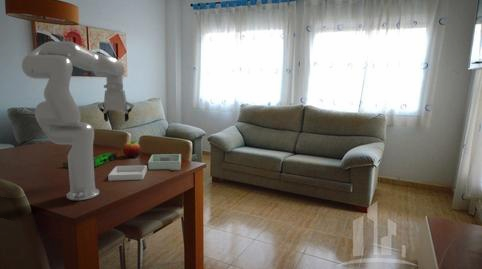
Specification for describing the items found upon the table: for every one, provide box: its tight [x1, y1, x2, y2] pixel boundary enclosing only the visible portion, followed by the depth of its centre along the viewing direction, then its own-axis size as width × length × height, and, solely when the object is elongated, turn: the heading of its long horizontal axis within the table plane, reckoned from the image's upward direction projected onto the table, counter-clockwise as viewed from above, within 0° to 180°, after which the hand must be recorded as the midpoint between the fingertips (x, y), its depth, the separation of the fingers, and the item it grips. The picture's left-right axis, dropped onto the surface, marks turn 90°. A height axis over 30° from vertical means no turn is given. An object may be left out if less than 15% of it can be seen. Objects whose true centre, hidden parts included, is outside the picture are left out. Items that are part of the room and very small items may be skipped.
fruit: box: [122, 140, 142, 158], centre depth 199 cm, size 11×11×10 cm
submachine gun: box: [62, 152, 119, 168], centre depth 182 cm, size 5×29×25 cm
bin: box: [147, 153, 182, 171], centre depth 179 cm, size 17×17×5 cm
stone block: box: [160, 155, 170, 161], centre depth 179 cm, size 5×5×5 cm
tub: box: [107, 164, 148, 181], centre depth 159 cm, size 16×16×4 cm
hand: (116, 121), depth 158 cm, fingers open, 9 cm apart
